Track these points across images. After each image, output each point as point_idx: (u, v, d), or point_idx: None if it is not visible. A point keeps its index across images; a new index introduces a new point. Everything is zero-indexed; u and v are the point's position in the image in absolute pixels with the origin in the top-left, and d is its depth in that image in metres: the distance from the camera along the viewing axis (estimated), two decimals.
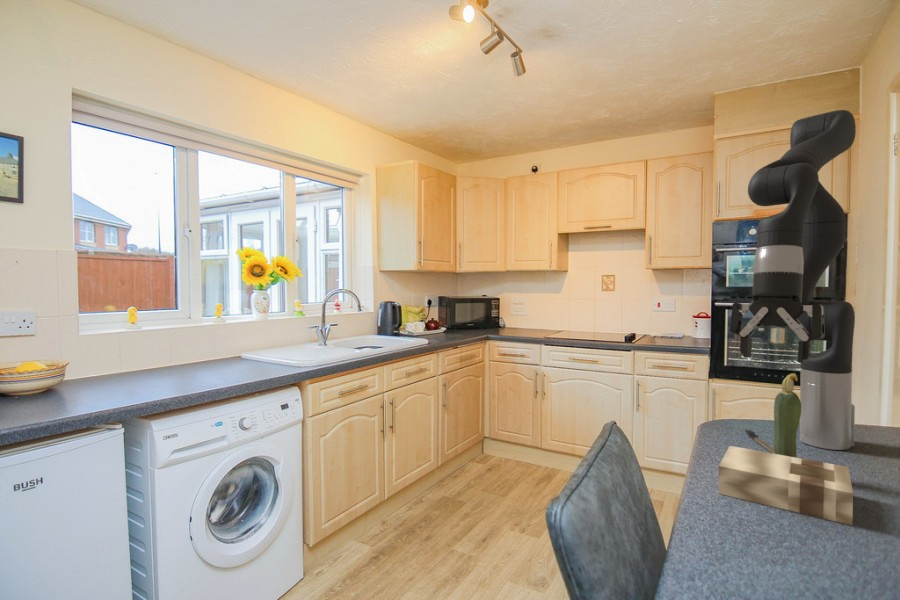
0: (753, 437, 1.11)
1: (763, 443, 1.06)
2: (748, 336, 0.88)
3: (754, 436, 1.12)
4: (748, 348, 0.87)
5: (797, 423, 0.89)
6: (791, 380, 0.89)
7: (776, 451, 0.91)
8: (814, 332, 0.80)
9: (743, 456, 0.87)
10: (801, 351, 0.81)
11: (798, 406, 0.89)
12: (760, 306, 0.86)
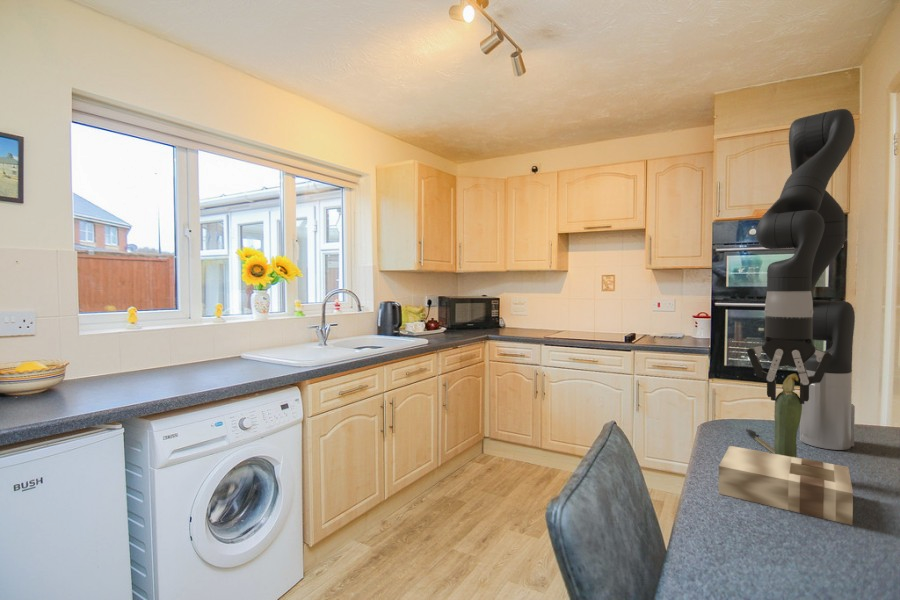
0: (754, 437, 1.12)
1: (763, 443, 1.07)
2: (774, 380, 0.92)
3: (755, 436, 1.12)
4: (775, 392, 0.91)
5: (797, 423, 0.89)
6: (792, 380, 0.89)
7: (776, 451, 0.91)
8: (814, 377, 0.87)
9: (743, 456, 0.87)
10: (802, 394, 0.88)
11: (799, 406, 0.88)
12: (773, 345, 0.91)
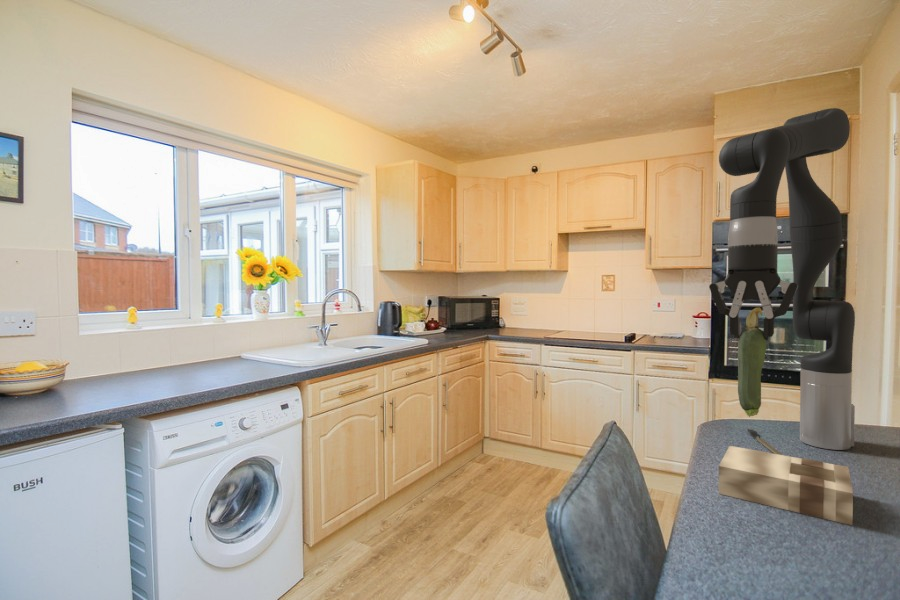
0: (755, 436, 1.12)
1: (764, 442, 1.07)
2: (737, 316, 0.85)
3: (756, 435, 1.12)
4: (738, 329, 0.84)
5: (762, 361, 0.82)
6: (756, 314, 0.83)
7: (740, 392, 0.84)
8: (779, 309, 0.80)
9: (743, 456, 0.87)
10: (766, 329, 0.82)
11: (763, 342, 0.82)
12: (736, 278, 0.84)
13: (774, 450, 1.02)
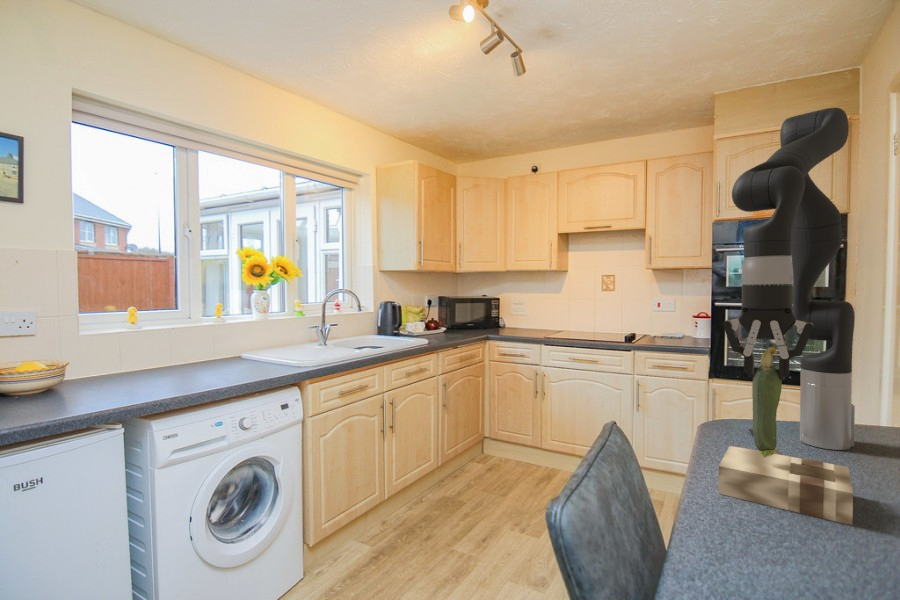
0: None
1: None
2: (752, 355, 0.84)
3: None
4: (752, 368, 0.83)
5: (777, 401, 0.81)
6: (770, 354, 0.81)
7: (754, 432, 0.83)
8: (794, 350, 0.79)
9: (743, 456, 0.87)
10: (782, 369, 0.80)
11: (778, 382, 0.81)
12: (750, 316, 0.83)
13: (774, 450, 1.02)
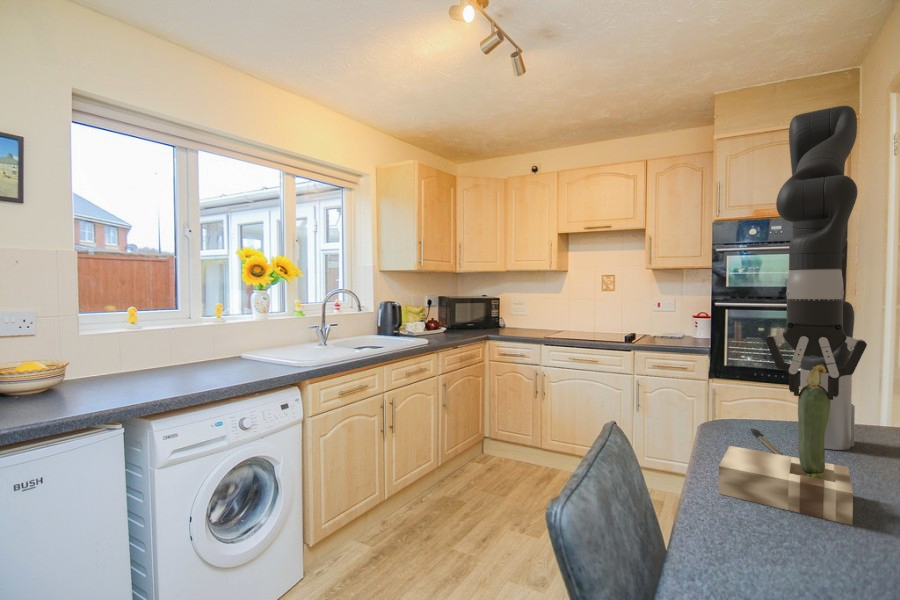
0: (757, 436, 1.12)
1: (765, 441, 1.07)
2: (797, 372, 0.80)
3: (759, 435, 1.13)
4: (798, 386, 0.79)
5: (826, 422, 0.77)
6: (818, 372, 0.77)
7: (801, 454, 0.79)
8: (845, 369, 0.75)
9: (743, 456, 0.87)
10: (831, 388, 0.76)
11: (827, 402, 0.77)
12: (796, 332, 0.79)
13: (774, 449, 1.02)
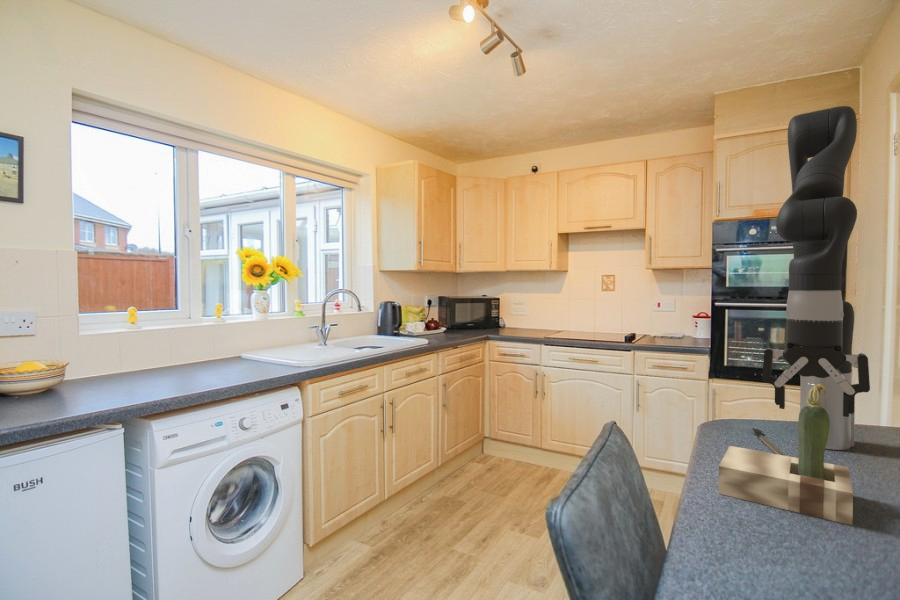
0: (759, 435, 1.12)
1: (766, 441, 1.08)
2: (783, 386, 0.81)
3: (760, 434, 1.13)
4: (784, 400, 0.80)
5: (825, 441, 0.79)
6: (818, 391, 0.81)
7: (801, 473, 0.80)
8: (861, 385, 0.74)
9: (743, 456, 0.87)
10: (847, 405, 0.75)
11: (826, 420, 0.79)
12: (797, 354, 0.79)
13: (775, 449, 1.03)
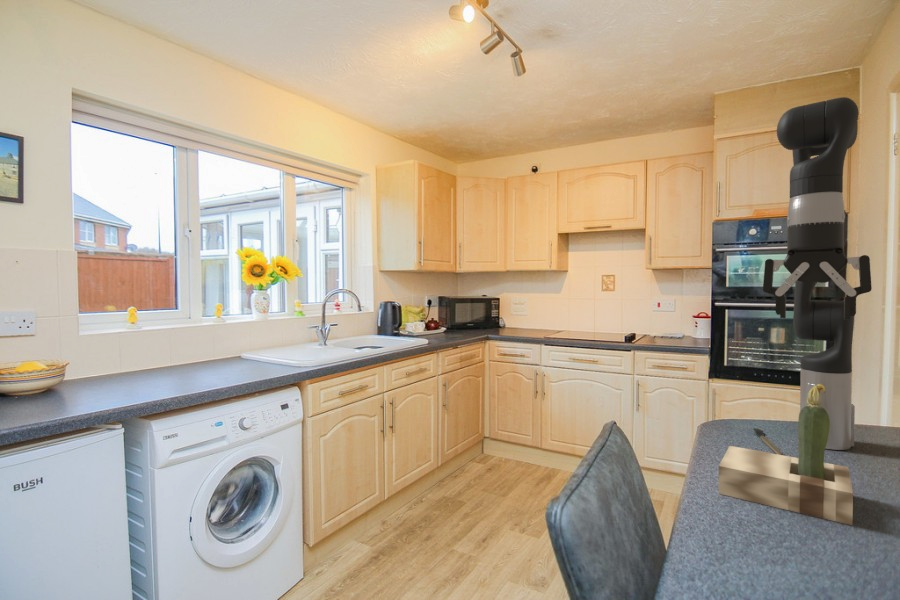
0: (760, 435, 1.13)
1: (767, 441, 1.08)
2: (784, 295, 0.80)
3: (761, 434, 1.13)
4: (785, 308, 0.80)
5: (825, 441, 0.79)
6: (818, 391, 0.81)
7: (801, 473, 0.80)
8: (863, 286, 0.73)
9: (743, 456, 0.87)
10: (848, 307, 0.75)
11: (826, 420, 0.79)
12: (798, 261, 0.78)
13: (775, 448, 1.03)
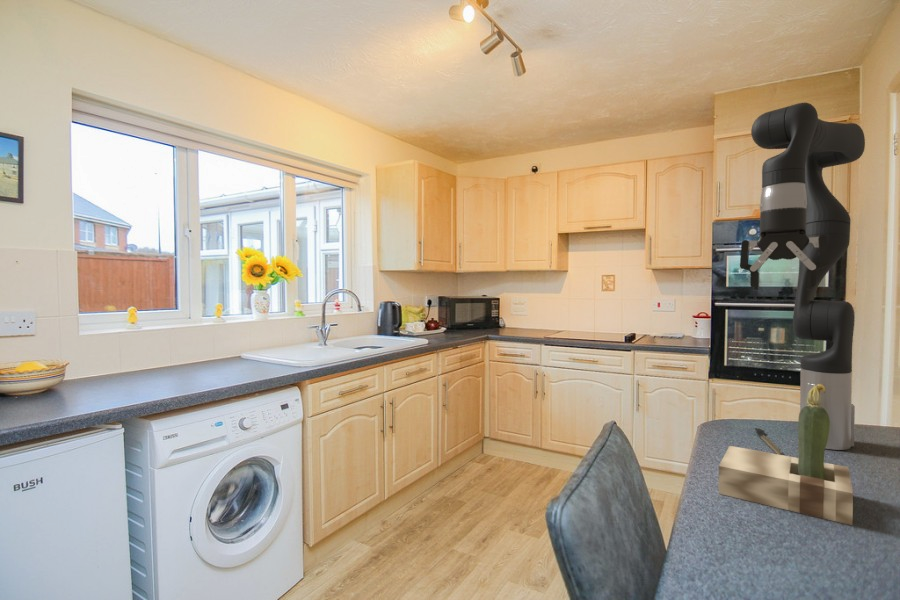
0: (761, 435, 1.13)
1: (768, 441, 1.08)
2: (757, 270, 0.95)
3: (762, 434, 1.13)
4: (758, 282, 0.94)
5: (825, 441, 0.79)
6: (818, 391, 0.81)
7: (801, 473, 0.80)
8: (821, 261, 0.88)
9: (743, 456, 0.87)
10: (809, 279, 0.89)
11: (826, 420, 0.79)
12: (769, 241, 0.93)
13: (775, 448, 1.03)
